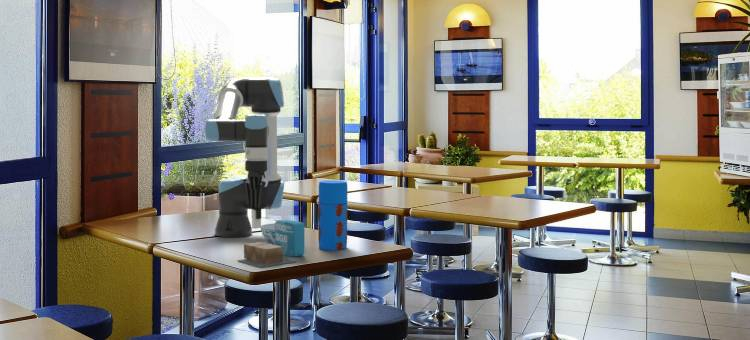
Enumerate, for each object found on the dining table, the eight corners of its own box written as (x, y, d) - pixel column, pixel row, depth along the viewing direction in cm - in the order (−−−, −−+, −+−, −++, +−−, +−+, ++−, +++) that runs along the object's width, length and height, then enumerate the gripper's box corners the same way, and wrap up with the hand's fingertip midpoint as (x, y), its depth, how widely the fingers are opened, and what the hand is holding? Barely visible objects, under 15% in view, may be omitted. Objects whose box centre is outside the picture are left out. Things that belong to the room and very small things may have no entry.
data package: (274, 252, 278) (274, 220, 277) (284, 251, 281) (284, 218, 280) (294, 257, 269) (294, 223, 268) (304, 256, 272) (304, 222, 271)
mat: (237, 261, 261) (237, 260, 261) (271, 256, 271) (271, 255, 271) (261, 267, 251) (261, 266, 251) (295, 262, 260) (295, 261, 260)
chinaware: (263, 250, 282) (263, 229, 281) (258, 243, 296) (258, 223, 295) (303, 249, 286) (303, 228, 285) (296, 242, 300) (296, 222, 299)
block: (244, 244, 264) (265, 249, 255) (260, 241, 269) (282, 246, 260) (244, 258, 265) (265, 264, 255) (261, 255, 269) (282, 261, 260)
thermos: (314, 246, 291) (314, 180, 289) (341, 244, 295) (341, 180, 293) (324, 251, 281) (324, 183, 279) (351, 249, 285) (351, 182, 283)
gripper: (236, 159, 265) (236, 226, 267) (257, 161, 255) (257, 231, 257) (254, 158, 270) (255, 224, 272) (276, 160, 260) (276, 229, 262)
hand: (256, 227), depth 264 cm, fingers closed
